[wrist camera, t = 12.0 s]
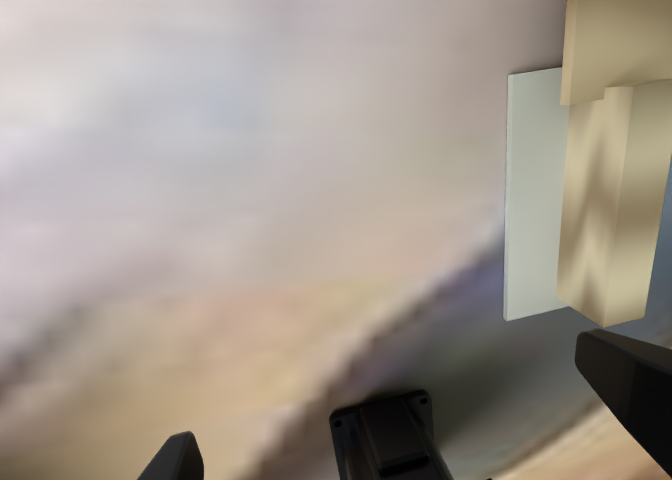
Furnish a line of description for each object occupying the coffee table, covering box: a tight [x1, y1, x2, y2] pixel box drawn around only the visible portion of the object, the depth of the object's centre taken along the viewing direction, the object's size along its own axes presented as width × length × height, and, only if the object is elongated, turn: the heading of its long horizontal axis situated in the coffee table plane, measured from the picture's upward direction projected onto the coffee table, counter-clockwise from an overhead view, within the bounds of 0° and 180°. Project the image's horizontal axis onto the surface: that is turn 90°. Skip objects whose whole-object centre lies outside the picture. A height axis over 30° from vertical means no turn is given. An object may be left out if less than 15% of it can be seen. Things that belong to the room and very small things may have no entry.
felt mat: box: [503, 67, 570, 321], centre depth 22 cm, size 14×9×1 cm, turn 8°
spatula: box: [556, 0, 672, 328], centre depth 19 cm, size 20×6×4 cm, turn 8°
